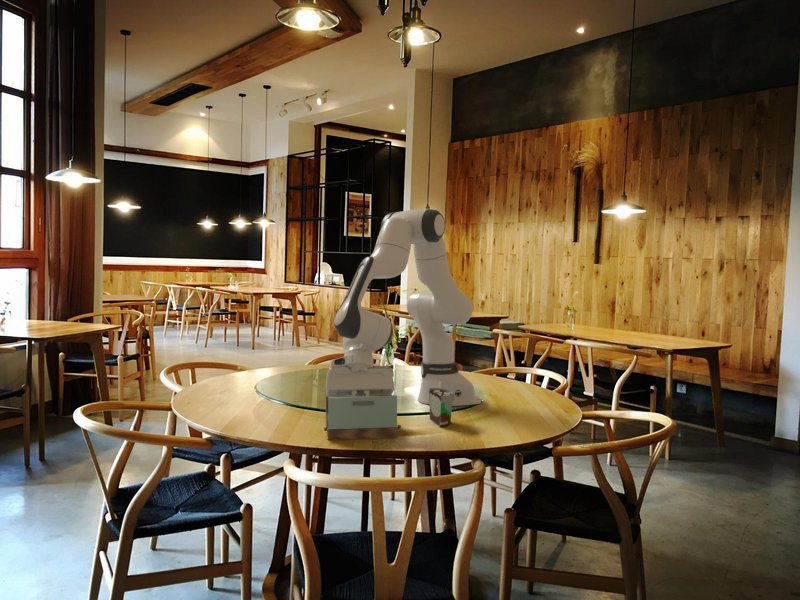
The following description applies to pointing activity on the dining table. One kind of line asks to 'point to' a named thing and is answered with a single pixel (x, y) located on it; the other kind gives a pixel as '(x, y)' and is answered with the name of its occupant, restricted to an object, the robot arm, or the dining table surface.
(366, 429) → the brown open box
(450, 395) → the food container
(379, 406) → the panel
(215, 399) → the dining table surface
